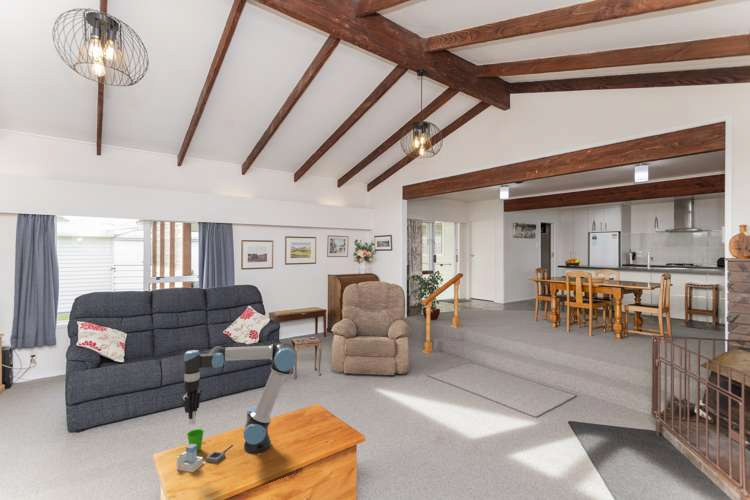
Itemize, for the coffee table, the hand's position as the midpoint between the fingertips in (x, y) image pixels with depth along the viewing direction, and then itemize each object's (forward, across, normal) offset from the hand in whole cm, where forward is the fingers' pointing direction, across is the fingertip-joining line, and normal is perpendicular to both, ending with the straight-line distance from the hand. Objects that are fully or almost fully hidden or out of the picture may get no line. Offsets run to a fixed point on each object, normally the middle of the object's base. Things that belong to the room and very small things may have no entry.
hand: (192, 423), depth 204 cm
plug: (+22, 0, 0) cm, 22 cm away
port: (+23, 0, 0) cm, 23 cm away
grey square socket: (+23, -9, +8) cm, 26 cm away
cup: (+23, -14, -10) cm, 28 cm away
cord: (+23, -18, +8) cm, 30 cm away
